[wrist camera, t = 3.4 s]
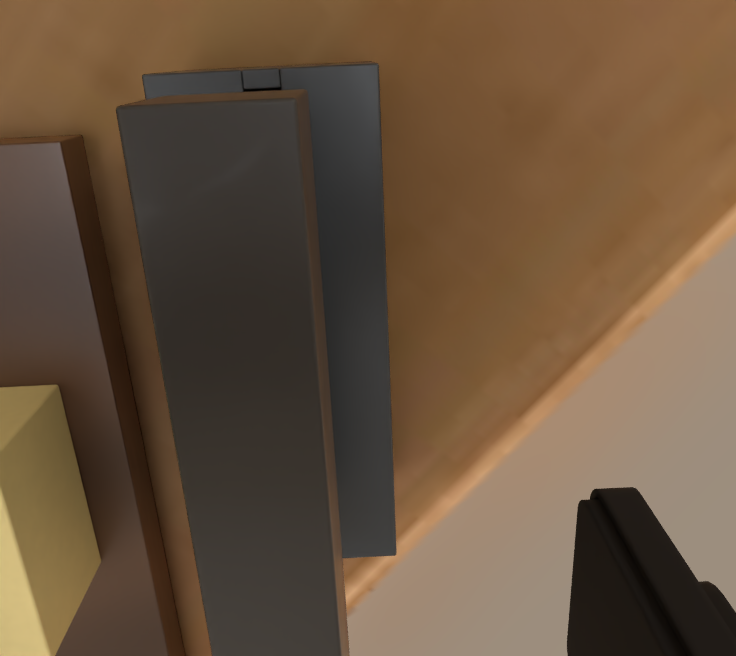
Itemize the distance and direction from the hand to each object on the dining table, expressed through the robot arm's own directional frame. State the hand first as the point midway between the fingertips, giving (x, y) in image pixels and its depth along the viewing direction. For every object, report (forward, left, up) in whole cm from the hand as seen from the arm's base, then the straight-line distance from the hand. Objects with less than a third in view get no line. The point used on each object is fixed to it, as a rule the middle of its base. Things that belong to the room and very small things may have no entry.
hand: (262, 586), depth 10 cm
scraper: (0, 0, -12) cm, 12 cm away
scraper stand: (0, 0, -12) cm, 12 cm away
